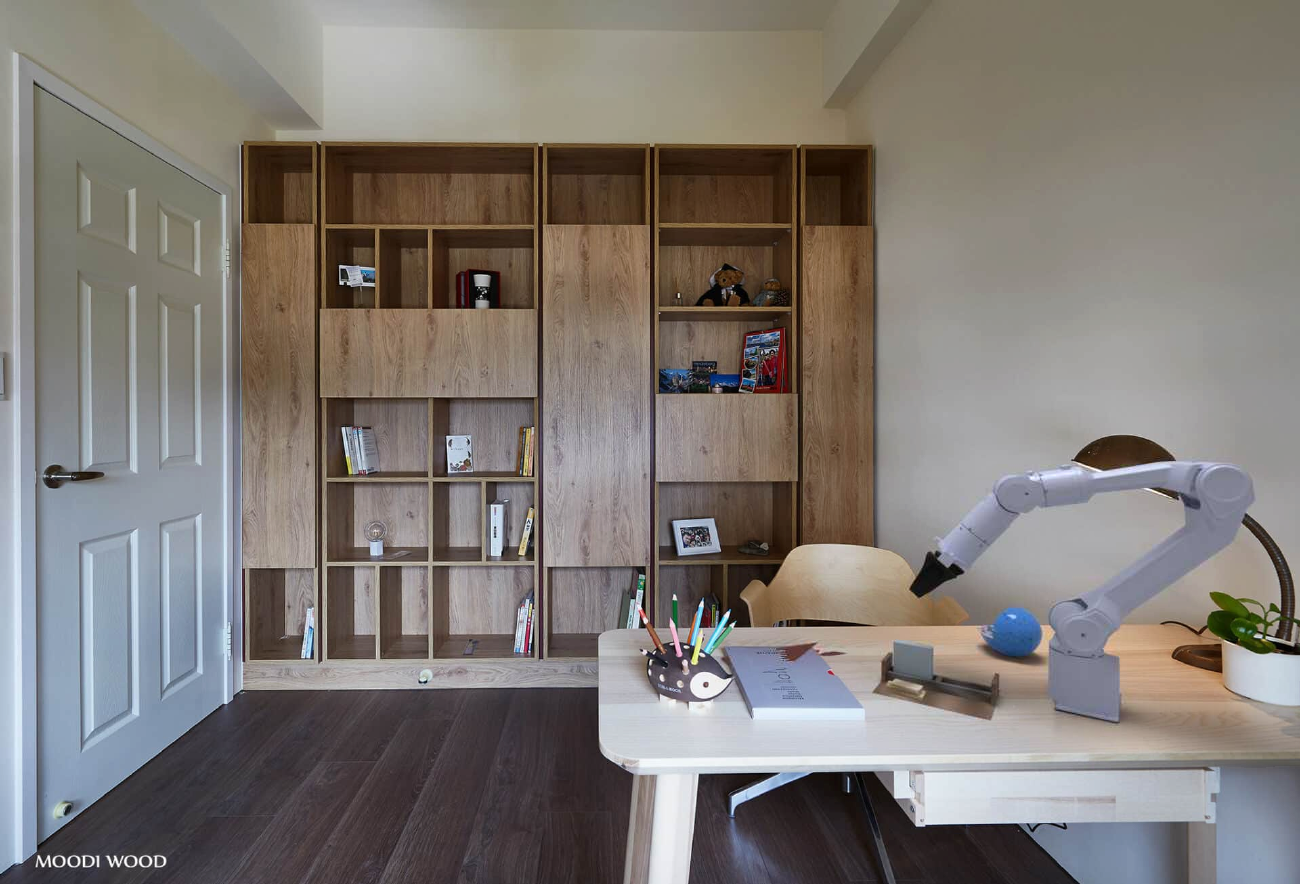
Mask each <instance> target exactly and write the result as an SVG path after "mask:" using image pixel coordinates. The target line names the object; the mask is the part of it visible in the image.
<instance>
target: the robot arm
mask: <svg viewBox="0 0 1300 884" xmlns="http://www.w3.org/2000/svg"><path fill="white" fill-rule="evenodd" d="M1150 488H1161V489H1164V490H1169V491H1173V492H1177V494H1178V496H1179V498H1180V500H1181V503H1182V504H1183V509H1184V511H1183V512H1184V523H1185V524H1184V526H1182V527H1180V529H1178V530H1176V531H1175V532H1174V533H1173V534H1171V535H1169V536H1168V537H1166V538H1165V539H1164V540H1162V541H1161V542H1159V543H1158V544H1157V545H1155V546H1153V548H1151V549H1150V550H1148V551H1147V552H1145V553H1144V554H1143V555H1142V556H1140V557H1139V558H1137V559H1136V560H1134V561H1133V562H1131V563H1130V564H1128V565H1126V567H1124V568H1122V569H1121V570H1120V571H1119V572H1117V573H1116V574H1114V575H1113V576H1111V577H1110V578H1109V579H1106V581H1105V582H1103V583H1102V584H1101V585H1099V586H1098V587H1096V588H1094V589H1089V590H1087V591H1083V592H1081V593H1079V594H1078V595H1076V596H1075V597H1073V598H1069V599H1065V600H1064V599H1063V600H1059V601H1056V602H1055V604H1052V606H1051V607H1050V608H1049V610H1048V614H1047V620H1048V624H1049V626H1050V628H1051V629H1052V630H1053V631H1054V632H1055V633H1054V634H1053V636H1052V638H1050V639H1049V640H1048V671H1047V672H1048V673H1047V674H1048V676H1047V678H1048V679H1047V689H1048V690H1047V696H1048V697H1049V698H1050V699H1051V700H1053V701H1055V703H1054V709H1055V710H1059V711H1063V712H1068V713H1073V714H1078V715H1081V716H1087V717H1092V718H1095V719H1096V718H1097V719H1100V720H1105V721H1110V722H1115V723H1119V722H1120V707H1121V706H1122V693H1120V684H1121V683H1120V682H1121V681H1120V678H1121V676H1120V674H1121V671H1120V666H1121V665H1120V656H1118V655H1115V654H1114V655H1112V654H1109V653H1106V652H1105V649H1104V648H1105V647H1106V645H1107V642H1108V640H1109V639H1110V637H1111V636H1112V635H1113V634H1114V633H1116V632H1118V631H1119V630H1120V627H1121V626H1122V623H1123V621H1124V618H1125V617H1126V616H1127V615H1129V614H1130V613H1132V612H1134V611H1135V610H1136V609H1138V608H1139V607H1140V606H1142V605H1143V604H1145V603H1146V602H1148V601H1149V600H1150V599H1152V598H1154V597H1155V596H1156V595H1158V594H1160V593H1161V592H1163V591H1164V590H1166V589H1167V588H1168V587H1170V586H1171V585H1172V584H1174V583H1176V582H1177V581H1178V580H1180V579H1182V577H1185V576H1186V575H1187V574H1189V573H1191V572H1192V571H1193V570H1195V569H1196V568H1198V567H1199V566H1200V565H1202V564H1203V563H1205V562H1206V561H1208V560H1209V559H1211V558H1212V557H1214V556H1215V555H1217V554H1218V553H1219V552H1221V551H1222V550H1225V548H1227V547H1228V546H1230V545H1231V544H1232V543H1233V542H1234V540H1236V537H1237V535H1238V531H1239V529H1240V527H1241V525H1242V523H1243V519H1244V517H1245V515H1246V512H1247V510H1249V508H1250V507H1251V506H1252V505H1253V504H1254V503H1255V502H1256V495H1255V487H1254V482H1253V479H1252V476H1251V475H1250V473H1249V472H1248V471H1247V470H1245V469H1244V467H1241V466H1239V465H1237V464H1234V463H1230V462H1214V461H1213V462H1212V461H1209V460H1204V459H1194V460H1190V461H1186V460H1185V461H1183V460H1181V461H1180V460H1177V461H1176V460H1174V461H1173V460H1172V461H1157V462H1151V463H1146V464H1145V463H1144V464H1139V465H1134V466H1128V467H1127V466H1126V467H1121V468H1114V469H1109V470H1103V471H1097V472H1091V473H1090V472H1088V471H1087V470H1085V469H1084V468H1082V467H1080V466H1071V464H1068V463H1067V464H1061V465H1059V469H1053V470H1052V469H1051V470H1045V471H1038V472H1035V471H1034V470H1030V469H1029V470H1025V476H1023V475H1017V474H1009V475H1008V474H1007V475H1005V476H1003V477H1001V478H999V479H997V480H996V481H995V482H994V484H993V486H992V492H990V493H989V494H987V495H986V496H985V497H984V499H983V500H982V501H980V502H979V503H978V504H976V506H975V507H973V509H971V511H970V512H969V513H967V515H966V516H965V517H964V518H963V519H962V520H961V521H960V522H959V523H958V524H957V525H956V526H955V527H954V528H953V529H952V531H950V532H949V533H948V534H947V535H946V536H945V538H944V539H941V538H940V537H939V536H935V537H933V541H935V543H937V545H938V547H939V549H940V550H935V552H934V553H933V551H931V550H930V551H928V552H927V553H926V556H925V559H924V562H923V565H922V567H921V569H920V570H919V573H918V574H917V576H916V577H915V579H914V580H913V581H912V583H911V585H910V587H909V588H908V589H909V591H910V592H911V593H913V594H914V596H916V597H917V598H918V599H920V598H922V597H924V596H926V595H927V594H929V593H931V592H933V591H934V590H936V589H937V588H939V587H940V586H941V585H943V584H944V583H945V582H949V581H951V580H954V579H957V578H958V576H961V575H963V574H965V570H964V569H966V570H971V569H970V568H971V567H972V565H973V564H974V563H975V562H976V561H977V560H978V559H979V558H980V557H981V556H982V555H983V554H984V553H985V552H986V551H987V550H988V549H989V548H990V547H991V546H992V545H993V544H994V543H995V542H996V541H997V540H998V539H999V538H1000V537H1001V536H1002V535H1003V534H1004V533H1005V532H1006V531H1007V530H1008V529H1009V528H1010V527H1011V524H1013V523H1014V522H1015V520H1017V518H1019V517H1020V516H1021V514H1028V513H1031V512H1032V511H1033V510H1034V509H1036V508H1037V506H1038V507H1039V508H1040V509H1044V508H1052V507H1053V508H1054V507H1061V506H1068V505H1079V504H1085V503H1088V502H1089V501H1091V499H1092V497H1094V496H1095V494H1098V493H1099V494H1102V493H1110V492H1111V493H1112V492H1121V491H1130V490H1140V489H1142V490H1143V489H1150ZM963 568H964V569H963Z"/></svg>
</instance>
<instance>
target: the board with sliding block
mask: <svg viewBox="0 0 1300 884" xmlns="http://www.w3.org/2000/svg"><path fill="white" fill-rule="evenodd" d="M880 663H881V672H880V673H881V676H880V682H879V683H878V685H877V686H876V687H875V688H874V689H873V690H872V692H871V693H873V694H877V695H880V696H881V695H882V696H884V697H889V698H894V699H897V700H903V701H907V702H911V703H913V704H919V705H924V706H927V707H932V708H934V709H935V708H936V709H940V710H944V711H949V712H954V713H956V714H957V713H958V714H962V715H965V716H970V717H974V718H979V719H982V720H987V721H992V718H993V715H994V713H995V709H996V706H997V703H998V701H999V697H1000V694H1001V689H1000V673H998V672H994V675H993V676H992V677H993V678H992V681H991V684H990V685H987V684H984V683H983V684H982V683H978V682H972V681H968V680H963V679H958V678H954V677H949V676H944V675H941V674H940V675H939V674H935V673H933V680H929V679H924V678H919V677H915V676H910V675H905V674H901V673H896V672H893V652H892V651H889V652H887V654H886V655H885V656H884V657H883V658H882V659H881V662H880ZM895 679H898V680H902V681H906V682H910V683H914V684H918V685H922V686H923V690H922V691H926V695H925V697H924V698H923V700H922V701H921V700H917V699H913V698H909V697H904V696H900V695H896V694H891V693H887V692H885V689H886V685H887V683H888V681H893V680H895Z"/></svg>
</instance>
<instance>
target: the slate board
mask: <svg viewBox="0 0 1300 884" xmlns="http://www.w3.org/2000/svg"><path fill="white" fill-rule="evenodd" d="M892 651H893V652H892V653H893V672H896V673H901V674H905V675H910V676H915V677H919V678H924V679H929V680H933V674H934V645H933V646H932V645H928V644H922V643H917V642H911V641H907V640H900V639H895V640H893V650H892Z"/></svg>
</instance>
